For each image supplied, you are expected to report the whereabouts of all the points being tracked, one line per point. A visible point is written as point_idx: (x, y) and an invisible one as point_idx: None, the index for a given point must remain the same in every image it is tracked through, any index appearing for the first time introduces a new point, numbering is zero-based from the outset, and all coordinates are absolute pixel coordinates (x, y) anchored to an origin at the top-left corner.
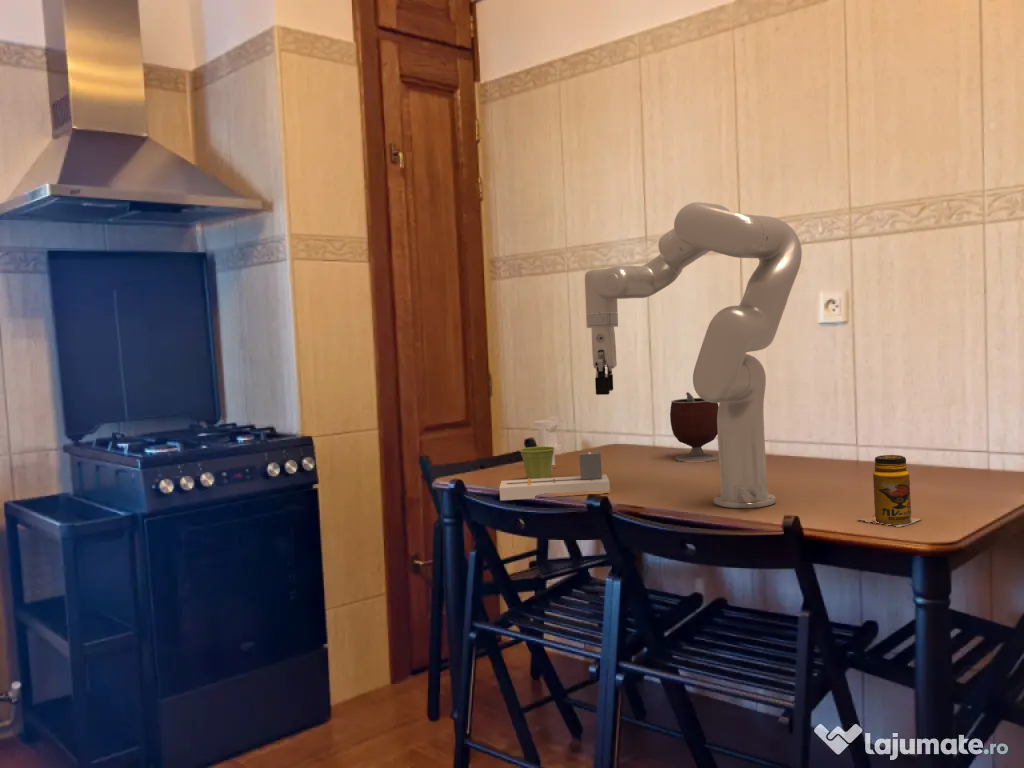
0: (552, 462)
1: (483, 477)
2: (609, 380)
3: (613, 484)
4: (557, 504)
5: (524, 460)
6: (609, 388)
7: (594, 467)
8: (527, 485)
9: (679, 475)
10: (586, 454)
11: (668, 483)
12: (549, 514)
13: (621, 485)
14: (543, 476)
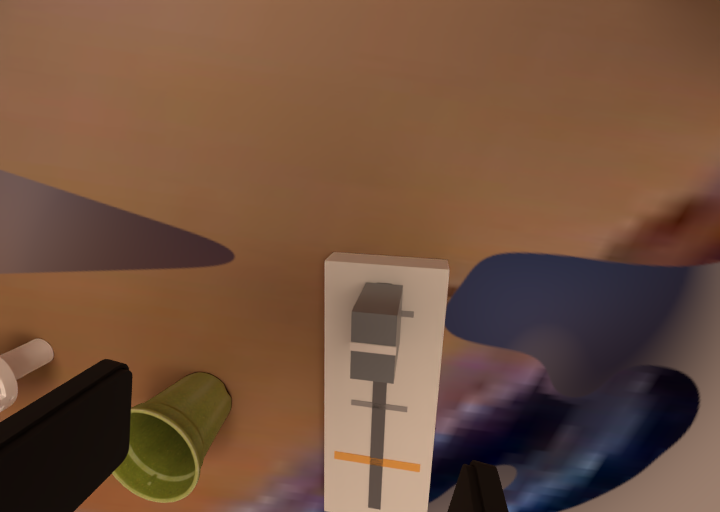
0: (32, 354)
1: (129, 494)
2: (46, 453)
3: (306, 230)
4: (532, 399)
5: (189, 469)
6: (117, 399)
7: (399, 318)
8: (419, 471)
9: (217, 11)
10: (394, 361)
11: (343, 68)
12: (654, 433)
13: (329, 211)
14: (222, 399)
